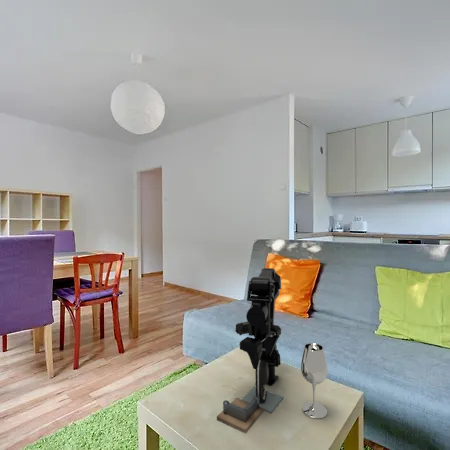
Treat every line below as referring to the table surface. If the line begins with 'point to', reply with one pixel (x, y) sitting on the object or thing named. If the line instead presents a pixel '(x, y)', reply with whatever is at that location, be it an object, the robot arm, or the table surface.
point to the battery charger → (261, 380)
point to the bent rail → (241, 409)
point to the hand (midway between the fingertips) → (261, 363)
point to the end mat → (271, 400)
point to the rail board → (238, 423)
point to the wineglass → (314, 376)
